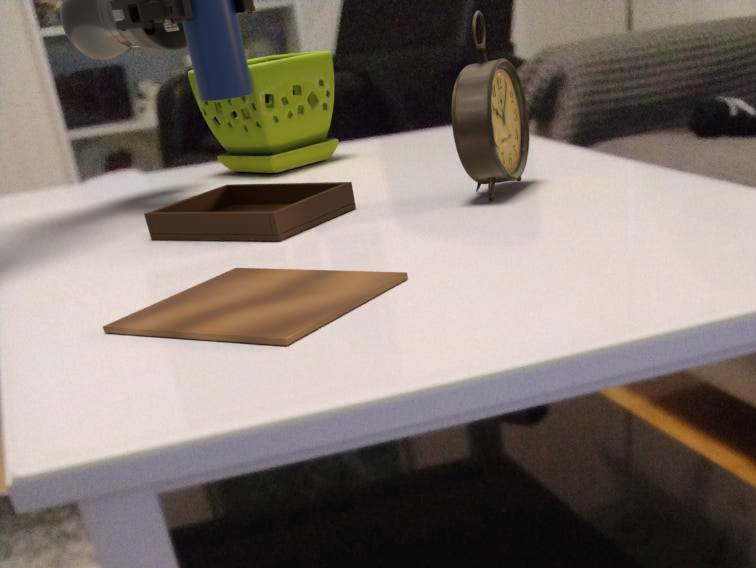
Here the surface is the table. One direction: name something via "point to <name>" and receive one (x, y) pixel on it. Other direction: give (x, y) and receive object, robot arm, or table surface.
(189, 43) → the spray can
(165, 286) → the table surface
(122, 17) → the robot arm
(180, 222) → the tray
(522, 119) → the alarm clock
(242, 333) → the wooden board
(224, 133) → the flower pot
